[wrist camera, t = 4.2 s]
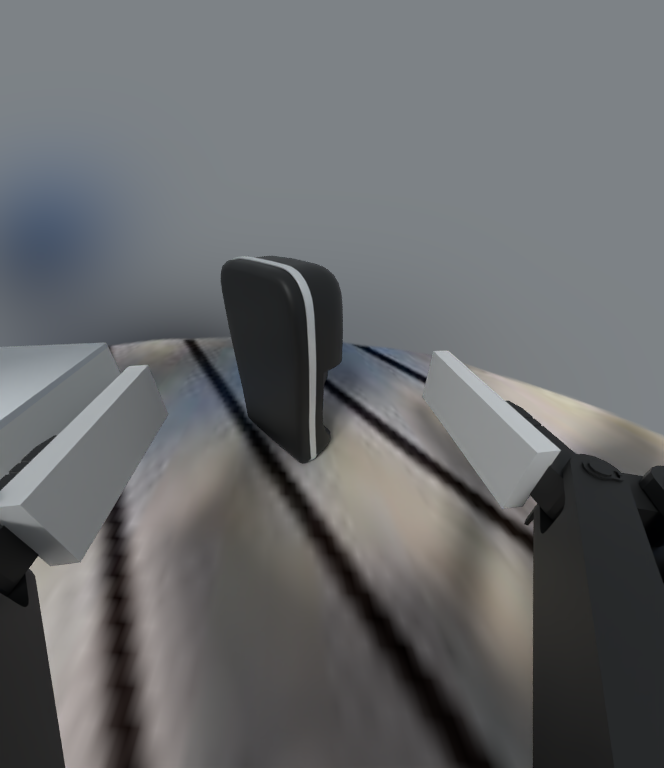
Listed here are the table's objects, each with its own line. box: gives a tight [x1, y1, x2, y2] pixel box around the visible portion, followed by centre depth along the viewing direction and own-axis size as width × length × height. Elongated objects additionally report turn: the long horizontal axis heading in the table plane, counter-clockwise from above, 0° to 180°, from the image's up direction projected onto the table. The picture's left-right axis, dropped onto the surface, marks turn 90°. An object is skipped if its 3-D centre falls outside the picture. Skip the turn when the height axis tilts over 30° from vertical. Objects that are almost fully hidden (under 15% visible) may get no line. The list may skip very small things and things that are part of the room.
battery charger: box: [221, 256, 343, 463], centre depth 16 cm, size 7×4×11 cm, turn 45°
